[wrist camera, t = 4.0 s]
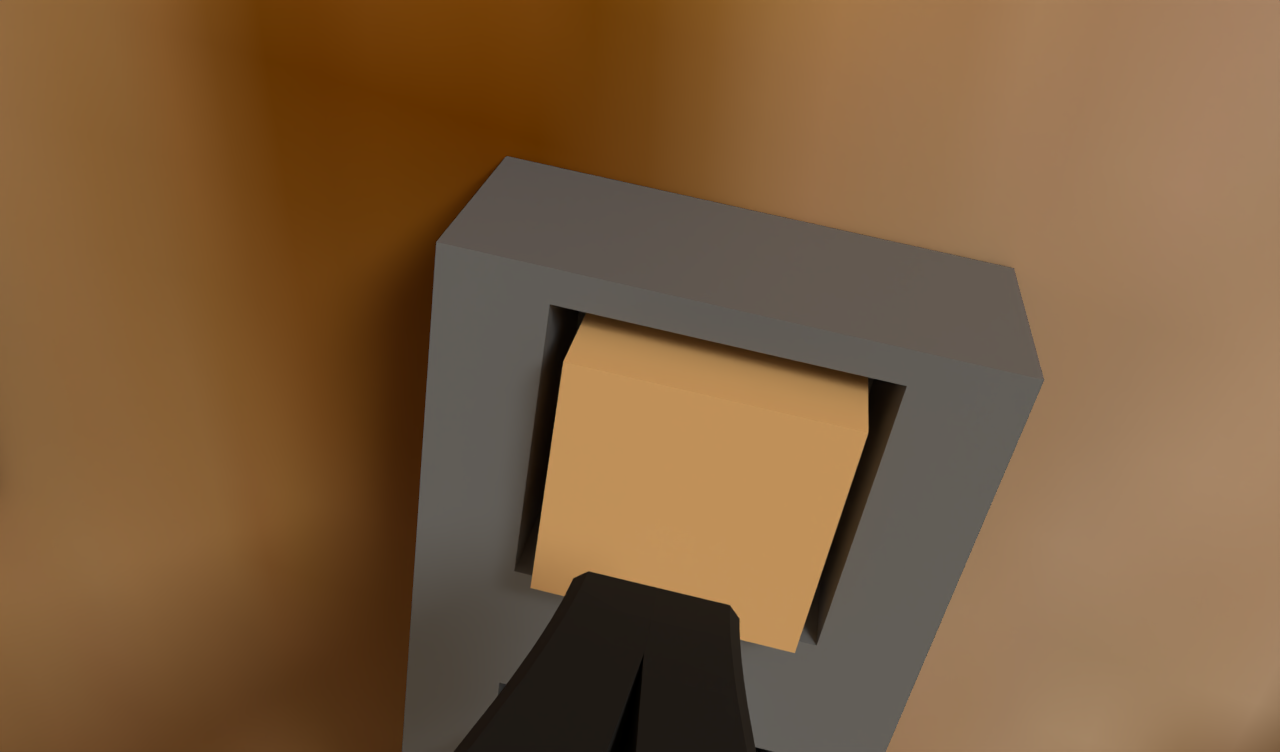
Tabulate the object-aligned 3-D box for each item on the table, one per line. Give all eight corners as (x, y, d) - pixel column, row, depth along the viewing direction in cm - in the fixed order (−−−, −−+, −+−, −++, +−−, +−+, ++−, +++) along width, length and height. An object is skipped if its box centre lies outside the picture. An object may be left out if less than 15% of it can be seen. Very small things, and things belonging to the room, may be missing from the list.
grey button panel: (430, 909, 21) (382, 1042, 19) (506, 156, 13) (436, 242, 11) (736, 991, 21) (721, 1136, 19) (1013, 268, 13) (1043, 379, 10)
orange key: (577, 464, 14) (530, 588, 12) (611, 258, 13) (563, 361, 11) (804, 518, 14) (795, 653, 12) (867, 317, 12) (869, 432, 10)
